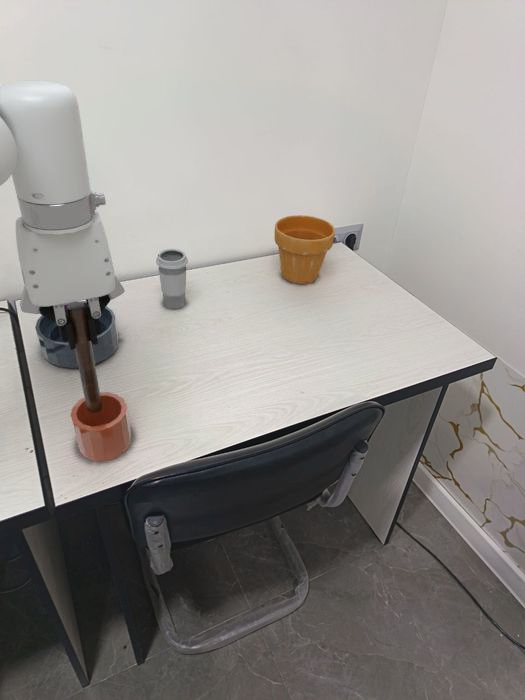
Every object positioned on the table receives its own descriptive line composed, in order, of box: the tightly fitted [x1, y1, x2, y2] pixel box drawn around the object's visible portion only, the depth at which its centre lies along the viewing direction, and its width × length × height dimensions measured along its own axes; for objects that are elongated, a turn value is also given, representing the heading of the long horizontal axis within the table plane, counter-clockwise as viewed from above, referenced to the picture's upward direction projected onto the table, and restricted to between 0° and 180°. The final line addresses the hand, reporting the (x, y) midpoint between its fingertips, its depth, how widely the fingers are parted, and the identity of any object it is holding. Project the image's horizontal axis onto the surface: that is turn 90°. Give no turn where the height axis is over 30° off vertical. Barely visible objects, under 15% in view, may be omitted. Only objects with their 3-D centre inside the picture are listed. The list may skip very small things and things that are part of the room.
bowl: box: [34, 300, 120, 369], centre depth 95 cm, size 14×14×6 cm
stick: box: [67, 302, 102, 413], centre depth 68 cm, size 2×2×18 cm
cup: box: [155, 248, 189, 310], centre depth 107 cm, size 7×7×12 cm
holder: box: [70, 391, 132, 462], centre depth 76 cm, size 8×8×7 cm
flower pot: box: [273, 214, 336, 285], centre depth 120 cm, size 14×14×13 cm
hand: (82, 340), depth 66 cm, fingers closed on stick, 2 cm apart
